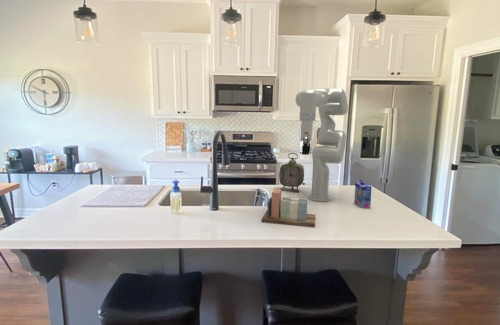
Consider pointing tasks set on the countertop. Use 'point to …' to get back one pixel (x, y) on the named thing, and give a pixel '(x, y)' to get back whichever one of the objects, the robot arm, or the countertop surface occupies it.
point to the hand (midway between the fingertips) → (306, 152)
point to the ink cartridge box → (362, 194)
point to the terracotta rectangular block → (276, 203)
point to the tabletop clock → (291, 174)
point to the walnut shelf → (291, 222)
